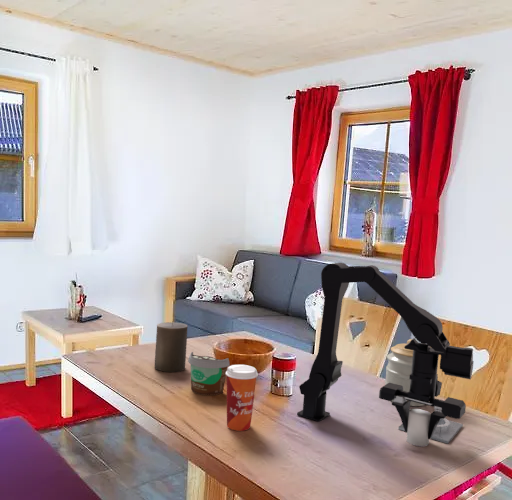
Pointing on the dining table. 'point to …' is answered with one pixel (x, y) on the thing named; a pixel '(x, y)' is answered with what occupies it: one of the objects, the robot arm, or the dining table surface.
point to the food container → (207, 374)
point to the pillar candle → (171, 346)
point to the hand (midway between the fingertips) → (418, 435)
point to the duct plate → (444, 435)
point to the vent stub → (418, 427)
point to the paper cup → (240, 396)
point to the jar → (400, 368)
